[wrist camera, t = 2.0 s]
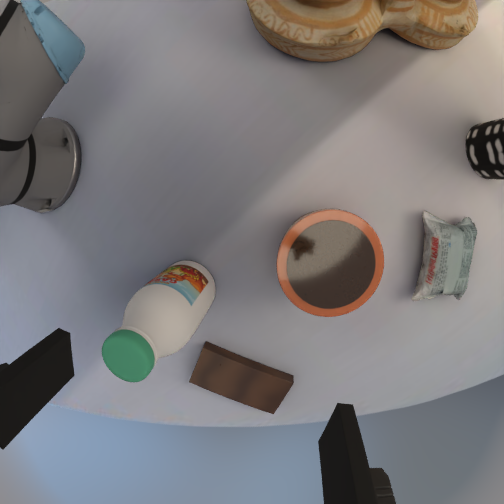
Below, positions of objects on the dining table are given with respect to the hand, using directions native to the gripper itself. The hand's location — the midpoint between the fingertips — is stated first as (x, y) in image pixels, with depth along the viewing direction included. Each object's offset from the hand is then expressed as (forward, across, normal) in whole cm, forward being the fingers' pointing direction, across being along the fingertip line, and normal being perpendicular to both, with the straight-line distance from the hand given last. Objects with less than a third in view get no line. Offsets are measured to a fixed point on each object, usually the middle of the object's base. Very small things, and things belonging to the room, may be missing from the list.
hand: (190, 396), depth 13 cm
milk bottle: (+28, -7, -6) cm, 30 cm away
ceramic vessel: (+28, +9, +39) cm, 49 cm away
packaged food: (+28, +26, +6) cm, 39 cm away
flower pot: (+28, +9, +3) cm, 30 cm away
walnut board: (+28, +2, -19) cm, 34 cm away
